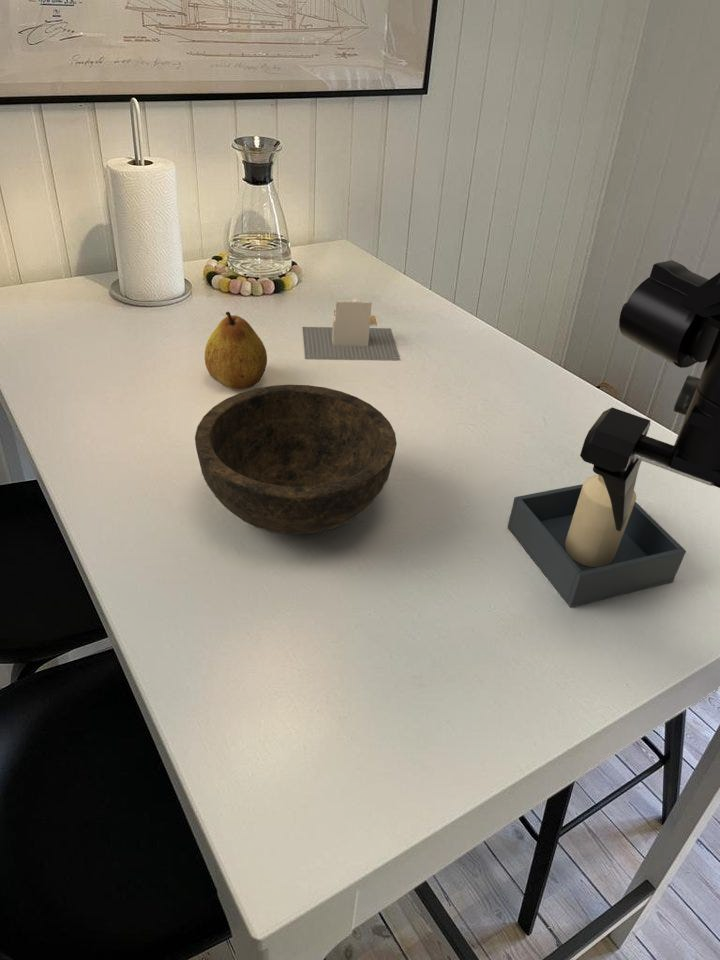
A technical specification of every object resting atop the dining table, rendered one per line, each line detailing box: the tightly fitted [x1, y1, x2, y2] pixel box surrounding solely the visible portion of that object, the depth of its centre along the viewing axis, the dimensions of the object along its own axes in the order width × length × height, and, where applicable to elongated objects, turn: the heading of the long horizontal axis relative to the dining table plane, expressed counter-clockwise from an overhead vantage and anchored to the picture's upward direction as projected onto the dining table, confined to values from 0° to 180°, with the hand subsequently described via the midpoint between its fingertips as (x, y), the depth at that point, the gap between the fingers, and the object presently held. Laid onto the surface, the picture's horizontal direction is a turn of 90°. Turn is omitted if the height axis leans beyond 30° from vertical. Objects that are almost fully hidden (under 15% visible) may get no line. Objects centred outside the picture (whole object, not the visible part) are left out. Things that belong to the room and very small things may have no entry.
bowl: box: [194, 384, 397, 535], centre depth 85 cm, size 22×22×10 cm
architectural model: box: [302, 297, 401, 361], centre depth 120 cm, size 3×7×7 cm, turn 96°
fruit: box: [204, 311, 268, 391], centre depth 106 cm, size 9×9×12 cm
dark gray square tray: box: [507, 483, 687, 608], centre depth 83 cm, size 13×13×4 cm
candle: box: [565, 474, 637, 567], centre depth 81 cm, size 6×6×10 cm
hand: (671, 549), depth 66 cm, fingers open, 9 cm apart
